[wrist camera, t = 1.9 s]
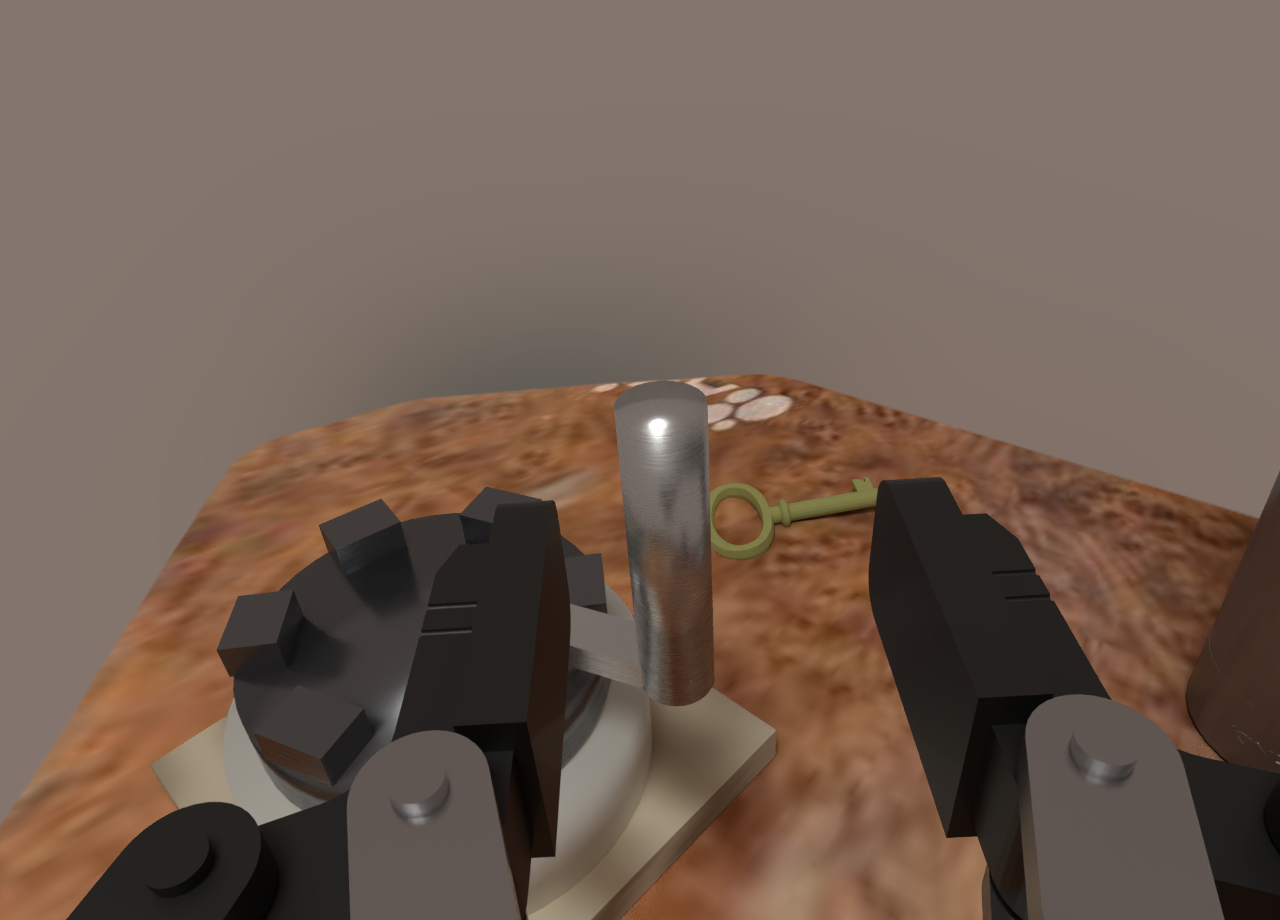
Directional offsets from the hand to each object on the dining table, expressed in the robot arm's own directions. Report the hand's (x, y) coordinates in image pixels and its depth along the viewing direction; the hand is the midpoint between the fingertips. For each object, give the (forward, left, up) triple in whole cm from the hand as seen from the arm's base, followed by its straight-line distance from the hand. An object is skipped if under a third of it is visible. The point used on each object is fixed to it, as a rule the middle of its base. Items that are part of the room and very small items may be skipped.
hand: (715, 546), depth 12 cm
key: (-32, -21, -31) cm, 49 cm away
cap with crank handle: (-5, -19, -23) cm, 30 cm away
